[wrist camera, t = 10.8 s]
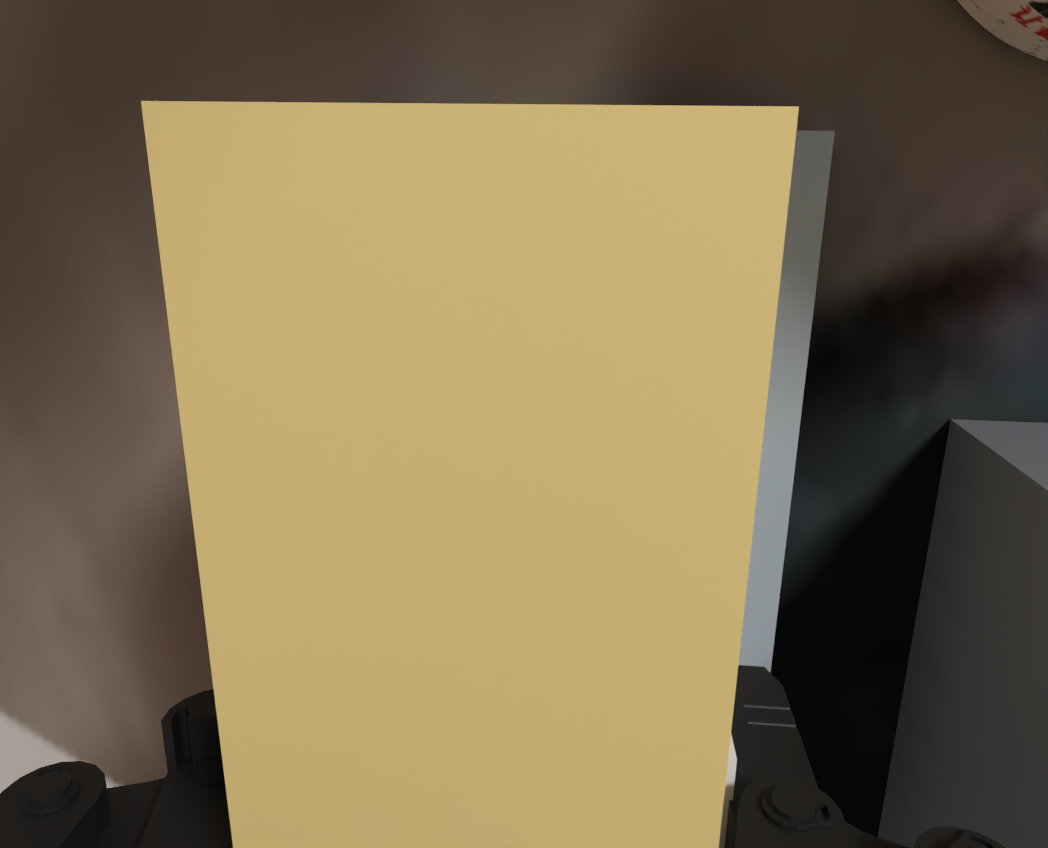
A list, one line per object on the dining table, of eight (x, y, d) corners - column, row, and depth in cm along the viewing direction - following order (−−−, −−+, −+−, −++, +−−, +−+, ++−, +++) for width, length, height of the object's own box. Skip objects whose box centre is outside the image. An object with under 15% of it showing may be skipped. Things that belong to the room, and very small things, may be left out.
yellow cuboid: (428, 131, 15) (140, 100, 6) (676, 134, 15) (799, 106, 5) (440, 686, 19) (278, 1216, 10) (638, 700, 19) (672, 1265, 9)
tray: (330, 130, 18) (283, 124, 15) (799, 135, 17) (834, 130, 15) (365, 804, 24) (335, 886, 21) (724, 833, 23) (740, 922, 20)
